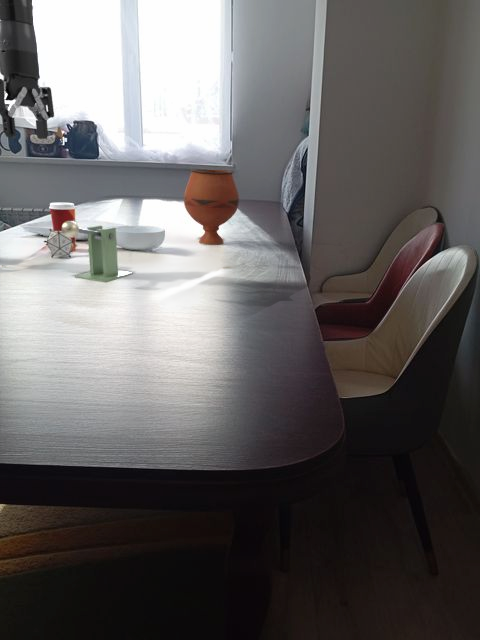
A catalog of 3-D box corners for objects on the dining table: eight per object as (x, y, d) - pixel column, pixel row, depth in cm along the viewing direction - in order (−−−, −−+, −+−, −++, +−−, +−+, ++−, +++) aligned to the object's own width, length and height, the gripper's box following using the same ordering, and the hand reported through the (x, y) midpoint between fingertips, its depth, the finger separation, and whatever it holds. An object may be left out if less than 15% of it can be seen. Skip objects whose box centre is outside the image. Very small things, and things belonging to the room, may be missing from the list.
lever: (70, 237, 112) (71, 220, 112) (57, 235, 114) (58, 218, 113) (111, 243, 126) (112, 228, 125) (99, 242, 127) (100, 227, 126)
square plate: (131, 234, 193) (131, 224, 192) (79, 244, 170) (78, 232, 169) (75, 226, 203) (75, 216, 202) (19, 235, 180) (18, 223, 178)
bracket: (105, 286, 122) (102, 231, 118) (75, 281, 125) (70, 227, 121) (132, 277, 132) (130, 226, 127) (104, 272, 135) (101, 223, 130)
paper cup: (83, 250, 160) (80, 204, 155) (59, 252, 155) (55, 205, 150) (72, 246, 165) (68, 201, 160) (48, 248, 160) (43, 202, 155)
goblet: (175, 244, 180) (174, 168, 171) (196, 236, 197) (196, 168, 188) (227, 249, 175) (229, 172, 166) (243, 241, 193) (246, 171, 184)
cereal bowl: (175, 250, 169) (175, 228, 166) (142, 258, 155) (141, 234, 152) (135, 244, 176) (134, 222, 173) (100, 250, 162) (98, 227, 159)
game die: (66, 268, 153) (83, 239, 155) (65, 263, 145) (82, 233, 147) (38, 252, 151) (55, 223, 152) (34, 247, 143) (52, 216, 144)
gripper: (31, 57, 110) (38, 138, 116) (-27, 43, 98) (-15, 135, 104) (58, 57, 108) (65, 140, 114) (3, 43, 95) (13, 137, 101)
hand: (27, 138), depth 109 cm, fingers open, 8 cm apart
